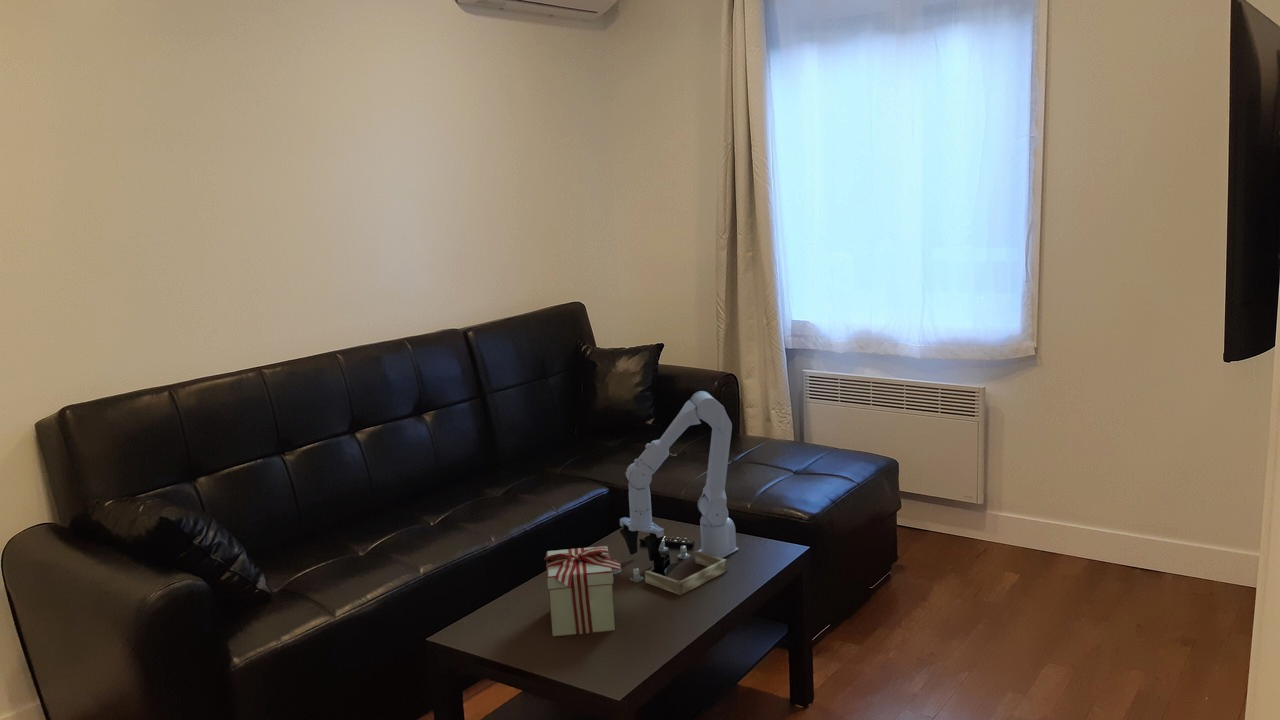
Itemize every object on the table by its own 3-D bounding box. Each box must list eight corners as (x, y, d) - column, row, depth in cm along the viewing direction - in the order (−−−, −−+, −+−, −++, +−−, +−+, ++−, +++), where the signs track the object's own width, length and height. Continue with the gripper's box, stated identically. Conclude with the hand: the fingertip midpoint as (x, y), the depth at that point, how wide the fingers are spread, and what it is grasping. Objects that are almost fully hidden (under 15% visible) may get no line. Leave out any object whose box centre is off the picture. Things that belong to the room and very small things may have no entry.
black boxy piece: (666, 581, 241) (665, 564, 240) (639, 578, 244) (638, 561, 243) (683, 562, 252) (682, 545, 251) (657, 559, 255) (656, 543, 254)
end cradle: (692, 559, 252) (691, 549, 252) (727, 570, 244) (726, 559, 243) (645, 582, 240) (644, 571, 239) (680, 595, 231) (679, 583, 231)
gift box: (553, 646, 210) (547, 573, 207) (545, 610, 228) (539, 542, 224) (629, 635, 213) (624, 563, 210) (615, 600, 231) (610, 533, 227)
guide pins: (662, 547, 261) (661, 537, 261) (690, 556, 254) (689, 546, 254) (608, 572, 247) (607, 561, 247) (636, 582, 240) (636, 571, 240)
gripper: (610, 506, 252) (613, 554, 254) (649, 518, 242) (652, 568, 244) (629, 499, 257) (632, 546, 259) (668, 510, 247) (671, 559, 249)
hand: (643, 556), depth 252 cm, fingers open, 7 cm apart
